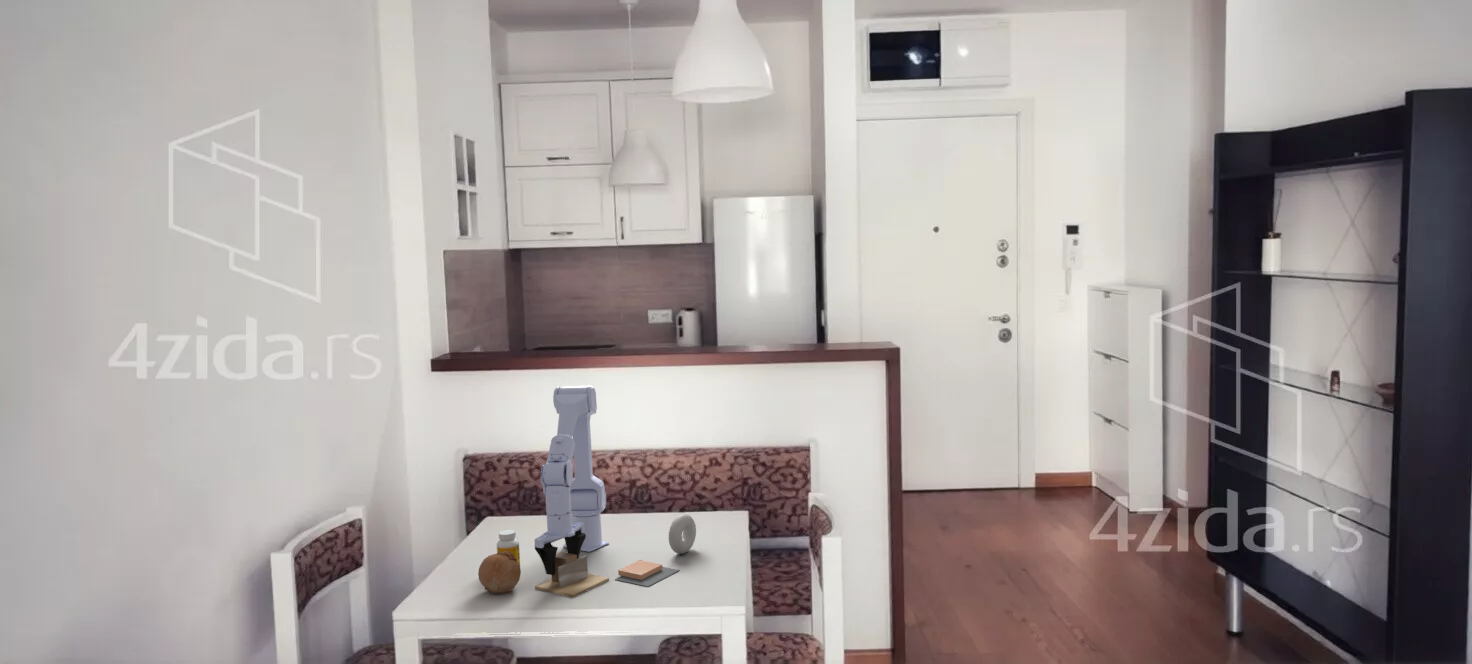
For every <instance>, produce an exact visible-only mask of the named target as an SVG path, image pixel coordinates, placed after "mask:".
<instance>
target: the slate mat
mask: <svg viewBox="0 0 1472 664" xmlns="http://www.w3.org/2000/svg"><path fill="white" fill-rule="evenodd" d="M678 572H680V569H676V568H671V567H665V566H662V570H661V571H659V572H657V573H655V574H653V575H651V576H649V577H647V578H645V579H643V580H638V579H633V578H629V577H624V576H620V575H619V576H618V577H616V578H615V579H614V580H615V581H619V582H622V581H623V583H628V584H632V585H636V584H637V585H638V586H642V587H646V588H649V587H651V586H653V585H655V584H657V583H658V582H661V581H663V580H664V579H666V578H669V577H670V576H672V575H674V574H676V573H678ZM668 576H669V577H668Z"/></svg>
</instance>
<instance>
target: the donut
mask: <svg viewBox="0 0 1472 664" xmlns="http://www.w3.org/2000/svg"><path fill="white" fill-rule="evenodd" d="M696 526H697V525H696V522H695V520H694V518H693V517H692V516H691V515H689V514H687V513H683V514H679V515H677V516H676V517H675V518H674V519H673V520H672V522H671V524H670V526H669V531H668V543H669V546H670V549H671V550H672V551H673V552H674V553H676V554H679V555H683V554H686V553H688V551H690V550H691V549H692V547H693V545H694V543H695V540H696V536H697V527H696Z"/></svg>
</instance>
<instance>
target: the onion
mask: <svg viewBox="0 0 1472 664" xmlns="http://www.w3.org/2000/svg"><path fill="white" fill-rule="evenodd" d="M517 560H518V559H517V558H515V556H514V554H512V553H511V552H508V551H506V552H505V551H504V552H500V553H497V552H496V553H494V554H490V555H488V556H487V557H485V558H484V559H483V560H482V562H481V563H480V565H479V568H478V572H477V573H478V580H479V581H480V585H482V586H483V587H484V590H485V591H487V592H488V593H490V594H491V593H492V594H495V595H502V594H505V595H506V594H508V593H509V592H511V591H513V590H514V589H515V588H516V586H517V585H518V583H519V581H520V579H521V574H522V571H521V570H522V569H521V564H520V565H519V563H518V561H517ZM501 593H502V594H501Z"/></svg>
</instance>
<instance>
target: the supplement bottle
mask: <svg viewBox="0 0 1472 664" xmlns="http://www.w3.org/2000/svg"><path fill="white" fill-rule="evenodd" d="M516 536H517V533H516V530H514V529H506V530H505V529H504V530H501V531H499V532H498V539H499V540H498V541H497V542H496V554H497V553H500V552H504V551H505V552H506V551H508V552H511V553H512V554H514V556H515V558H517V559H518V560H517V561H518V563H519V565H520V566H521V558H520V555H521V554H520V553H521V552H520V541H519V540H518V539H517V538H516Z"/></svg>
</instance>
